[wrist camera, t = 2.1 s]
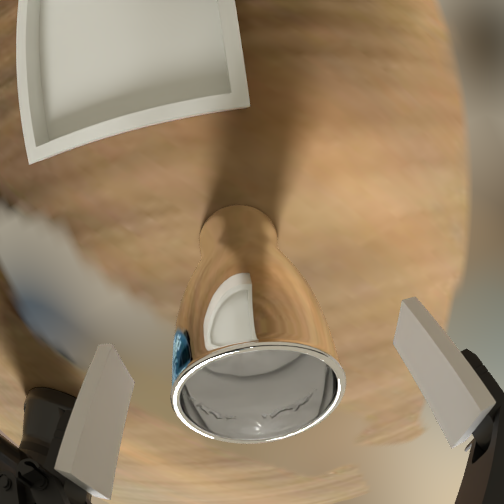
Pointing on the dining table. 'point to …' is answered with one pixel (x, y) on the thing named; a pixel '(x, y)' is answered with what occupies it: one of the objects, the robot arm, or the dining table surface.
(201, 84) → the tray
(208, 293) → the beer glass
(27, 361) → the dining table surface
